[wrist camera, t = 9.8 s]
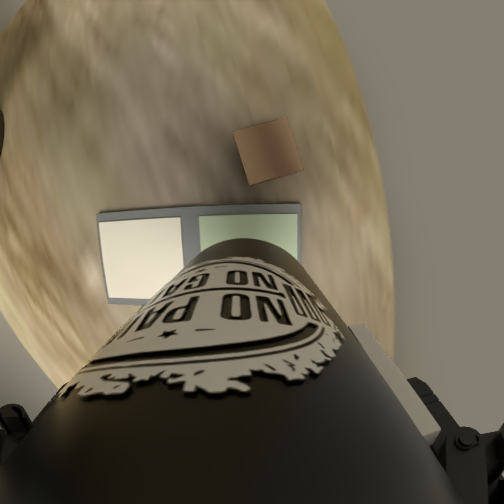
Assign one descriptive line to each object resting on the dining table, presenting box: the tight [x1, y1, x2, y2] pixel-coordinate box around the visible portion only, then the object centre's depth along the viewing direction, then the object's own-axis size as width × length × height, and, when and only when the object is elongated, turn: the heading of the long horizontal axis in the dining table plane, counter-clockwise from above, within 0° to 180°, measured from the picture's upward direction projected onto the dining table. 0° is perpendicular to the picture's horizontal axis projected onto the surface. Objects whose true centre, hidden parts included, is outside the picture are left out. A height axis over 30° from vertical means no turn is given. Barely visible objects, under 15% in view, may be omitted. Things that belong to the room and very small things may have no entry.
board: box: [96, 204, 302, 305], centre depth 30 cm, size 23×11×1 cm, turn 91°
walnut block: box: [233, 118, 304, 186], centre depth 26 cm, size 5×5×5 cm
